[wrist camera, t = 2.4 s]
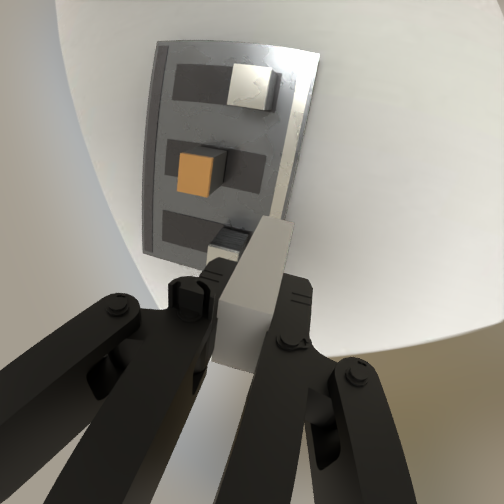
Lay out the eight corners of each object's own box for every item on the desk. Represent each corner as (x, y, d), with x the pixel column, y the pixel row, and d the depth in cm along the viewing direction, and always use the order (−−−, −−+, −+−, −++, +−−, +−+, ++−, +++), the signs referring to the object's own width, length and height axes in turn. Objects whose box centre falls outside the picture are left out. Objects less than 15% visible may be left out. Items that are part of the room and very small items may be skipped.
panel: (167, 44, 20) (131, 34, 15) (319, 58, 19) (320, 42, 14) (151, 245, 31) (123, 272, 26) (270, 277, 30) (259, 314, 25)
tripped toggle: (199, 146, 23) (180, 153, 19) (227, 150, 22) (211, 158, 19) (195, 179, 24) (176, 191, 21) (222, 184, 24) (206, 197, 21)
